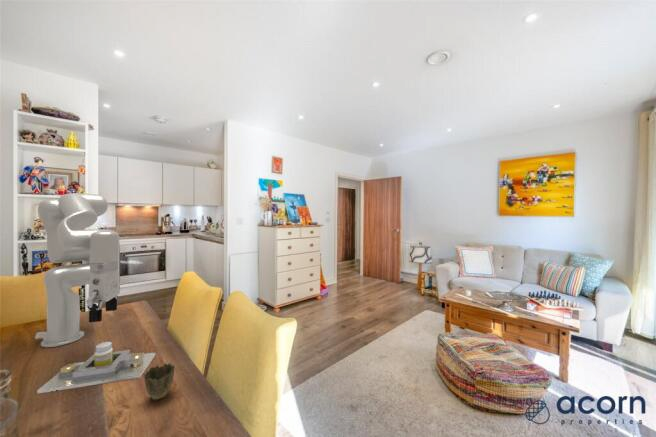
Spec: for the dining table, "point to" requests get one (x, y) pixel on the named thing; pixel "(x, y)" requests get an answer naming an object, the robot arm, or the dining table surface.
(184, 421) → the dining table surface
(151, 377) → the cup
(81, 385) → the gray plate
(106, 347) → the supplement bottle
